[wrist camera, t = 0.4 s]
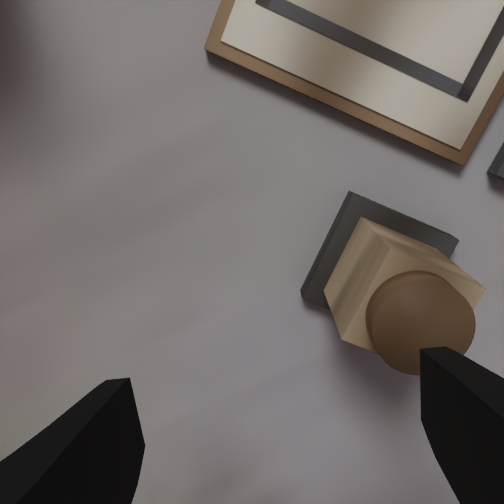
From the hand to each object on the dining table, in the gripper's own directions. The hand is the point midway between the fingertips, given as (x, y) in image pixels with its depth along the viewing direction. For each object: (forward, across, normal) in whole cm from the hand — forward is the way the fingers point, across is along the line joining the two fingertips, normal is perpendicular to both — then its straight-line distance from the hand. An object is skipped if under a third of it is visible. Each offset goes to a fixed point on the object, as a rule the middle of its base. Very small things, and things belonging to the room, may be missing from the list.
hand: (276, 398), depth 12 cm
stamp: (+10, -5, 0) cm, 11 cm away
